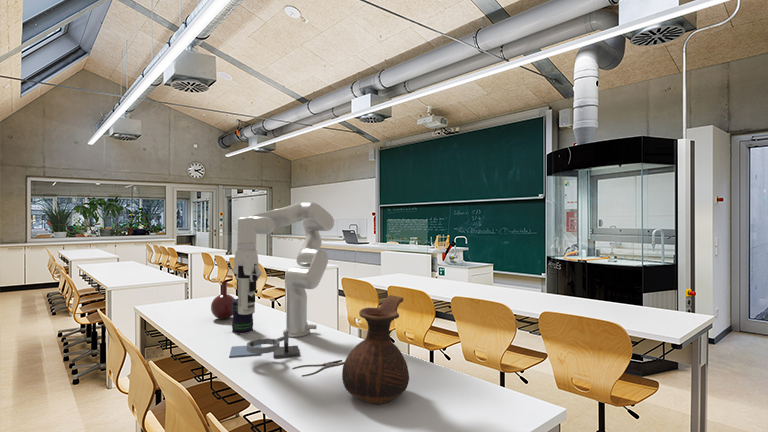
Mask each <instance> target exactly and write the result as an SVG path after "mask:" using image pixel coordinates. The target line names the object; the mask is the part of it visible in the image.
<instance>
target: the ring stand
mask: <svg viewBox="0 0 768 432" xmlns="http://www.w3.org/2000/svg"><path fill="white" fill-rule="evenodd" d="M283 331H284V330H283ZM281 342H283V346H280V343H281ZM256 345H261V348H259V347H253V346H256ZM262 345H270V346H264V347H263V346H262ZM246 346H247V351H248V352H250V353H255V354H261V355H263V354H269V353H273V359H279V358H280V359H281V358H293V357H300V349H299V345H289V331H284V335H282V336H281V337H278V338H257V339H253V340H251V341H248V342H247V343H246Z"/></svg>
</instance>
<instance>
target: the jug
mask: <svg viewBox="0 0 768 432" xmlns="http://www.w3.org/2000/svg"><path fill="white" fill-rule="evenodd" d="M403 302H404V297H402V296H398V295H393V294H389V295H388V296H387V297H386V299H385V300H384V301H383V302H382V304H381V305H380V306H379V307H365V308H362V309H360V310H359V311H358V312H359V313H358V314H359V316H360V318H362V319H364V320H365V322H366V323H367V327H368V328H367V333H366V337H365V339H363V340H361V341H360V342H359V343H358V344H356V346H354V347H353V349H352V350H351V351H350V352H349V353H348V355H347V357H345V360H344V361H343V362H344V364H342V365H343V366H342V374H341V376H342V377H341V378H342V379H341V380H342V384H343V386H344V388H345V389H346V391H347V392H348V393H349V394H351V395H352V396H354V397H356V398H357V399H358V400H360V401H363V402H364V403H369V404H373V405H380V404H381V405H382V404H386V403H389V402H391V401H393V400H394V399H396V398H397V397H399V396H401V395H402V394H403V393H404V392H406V390H407V388H408V385H409V382H410V372H409V368H408V364H407V361H406V359H405V358H404V355H403V354H402V353H403V352H401V350H400V349H399V348H398V347H397V345H396V344H395V343H393V341H392V339H391V335H390V329H391V328H390V327H391V324H392V322H393V320H397V319H399V317H400V314H399V312H398V307H399V306H400V304H401V303H403Z"/></svg>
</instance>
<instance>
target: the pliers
mask: <svg viewBox="0 0 768 432" xmlns="http://www.w3.org/2000/svg"><path fill="white" fill-rule="evenodd" d="M344 362H345V361H343V360H342V359H339V360H333V361H332V360H331V361H328V362H324V363H321V364H319V363H317V364H304V365H303V364H301V365H299V366H297V365H296V366H295V367H292V370H295V369H298V368H306V367H308V368H309V367H321V368H319V369H318V370H316V371H313V372H311V373H307V374H301V377H308V376H312V375H316V374H317V373H319V372H322V371H323V370H325V369H327V368H331V367H332V368H333V367H338V366H342V365H344Z"/></svg>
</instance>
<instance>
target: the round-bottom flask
mask: <svg viewBox="0 0 768 432" xmlns="http://www.w3.org/2000/svg"><path fill="white" fill-rule="evenodd" d="M220 283H221V294H219V295H218V296H215V297H214V299H213V300H212V301H211V303H210V312H211V313H212V315H213V316H214V317H215V318H217V319H220V320H226V319H229V318H232V317H233V312H232V306H233V305H232V304H233V302H232V301H233V300H234V299H235V298H234V297H233V296H232V295H230V294H228V290H227V289H228V281H225V280H224V281H221V282H220Z"/></svg>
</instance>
